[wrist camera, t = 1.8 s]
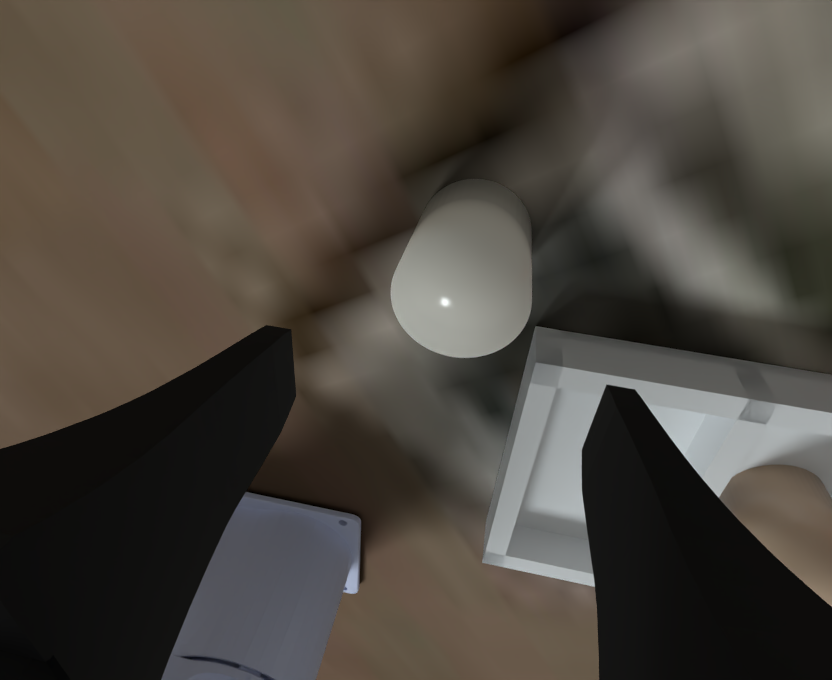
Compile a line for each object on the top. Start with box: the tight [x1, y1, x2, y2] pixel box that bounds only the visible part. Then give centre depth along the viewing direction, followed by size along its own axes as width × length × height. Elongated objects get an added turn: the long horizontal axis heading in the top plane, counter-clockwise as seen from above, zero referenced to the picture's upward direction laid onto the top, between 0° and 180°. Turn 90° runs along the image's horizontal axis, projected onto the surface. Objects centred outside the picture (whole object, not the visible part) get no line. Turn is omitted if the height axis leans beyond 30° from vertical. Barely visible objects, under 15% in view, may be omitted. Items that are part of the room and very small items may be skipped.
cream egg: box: [391, 179, 532, 358], centre depth 17 cm, size 4×4×5 cm
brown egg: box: [719, 464, 832, 606], centre depth 21 cm, size 4×4×5 cm
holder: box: [482, 326, 832, 587], centre depth 23 cm, size 16×13×2 cm
